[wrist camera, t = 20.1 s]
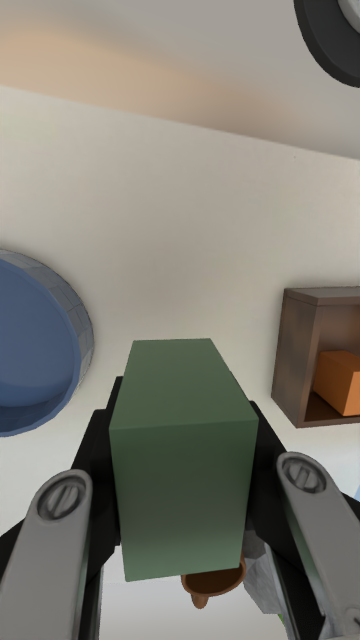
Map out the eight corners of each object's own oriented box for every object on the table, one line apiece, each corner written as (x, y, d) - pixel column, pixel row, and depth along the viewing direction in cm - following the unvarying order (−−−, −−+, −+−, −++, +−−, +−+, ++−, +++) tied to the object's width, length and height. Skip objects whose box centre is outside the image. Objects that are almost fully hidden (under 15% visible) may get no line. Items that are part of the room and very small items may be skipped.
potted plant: (304, 478, 28) (367, 553, 30) (230, 466, 38) (281, 524, 39) (287, 611, 20) (374, 704, 22) (198, 554, 30) (263, 623, 31)
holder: (284, 288, 25) (318, 297, 20) (395, 285, 27) (455, 292, 21) (270, 397, 30) (296, 428, 24) (367, 389, 31) (411, 418, 26)
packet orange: (319, 351, 28) (353, 371, 23) (344, 350, 28) (383, 369, 23) (312, 389, 29) (343, 416, 24) (336, 387, 29) (371, 413, 25)
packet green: (133, 340, 10) (107, 428, 5) (210, 337, 10) (259, 418, 5) (139, 441, 11) (125, 583, 6) (205, 436, 11) (239, 568, 7)
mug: (210, 528, 36) (228, 620, 27) (164, 527, 35) (167, 622, 26) (229, 471, 33) (256, 554, 24) (179, 468, 32) (187, 554, 23)
